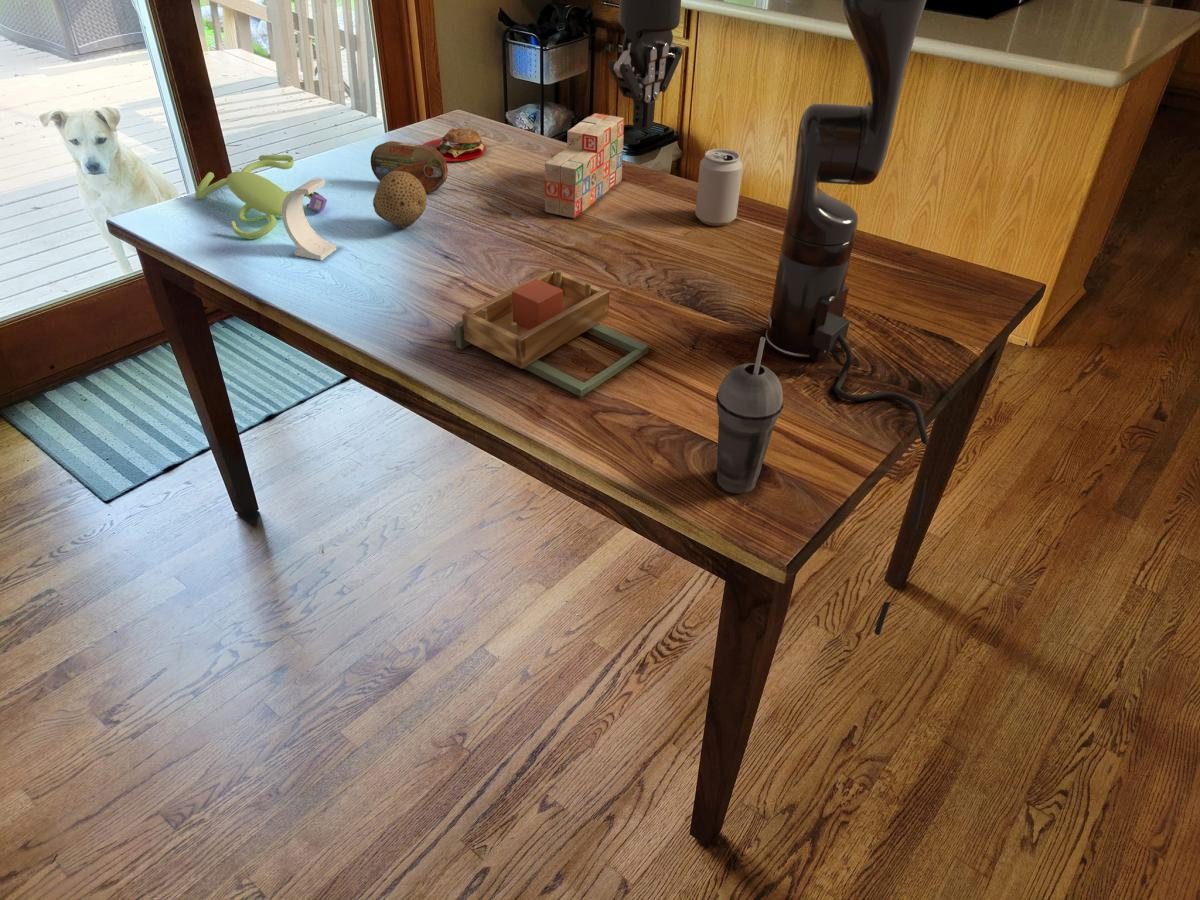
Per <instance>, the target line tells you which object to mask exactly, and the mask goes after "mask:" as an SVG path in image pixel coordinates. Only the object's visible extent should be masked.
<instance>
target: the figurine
mask: <svg viewBox="0 0 1200 900" xmlns="http://www.w3.org/2000/svg"><path fill="white" fill-rule="evenodd" d="M294 161H295V160H294V158H293V156H291V155H289V154H261V155H259V157H258V161H254V162H251V163H249V164H247V165H246V166H244V167H243V168H242V169H241V170H240V171H232V172H231V173H229V174H228V175H227V176H226V177H224V178H222V179H220V180H217V181H216V182H214V183H211V182H212V181H213V179H215V174H214V172H211V171H209V172H208V173H206V175H205V176H204V178H203V179H201V181H200V183H199V184H198V186H197V188H196V191H195V196H194V197H195V198H196V200H197V199H198V200H201V199H205V198H207V196H208V195H210V194H212V193H214V192H215V191H217V190H219V189H221V188H223V187H225V186H228V188H229V190H230V192H232V193H233V194H234V195H235V197H236V198H237V199H239V200H240V201H242V203H244V205H243V206H242V207H241V208H240V209H239V212H238V214H237V217H238V220H239V221H241V222H243V223H249V222H255V221H258V220H263V219H266V220H267V221H268V222H267V223H266V224H265V225H264V226H263V227H262V228H260V229H257V230H253V231H249V232H247V231H243V230H242V229H239V227H237V224H236V222H235V220H232V221H231V224H230V225H231V228H232V231H233V233H234V234H236V235H237V236H239V238H240V237H241V238H242V239H246V240H252V239H253V240H254V239H258V238H262V237H264V236H266V235H268V234H269V233H270V232H271V231H272V230H273V229H274V228H275V227H276V225H277V223H278V222H277V221H278V219H277V218H276V217H282V204H283V201H284V199H285V197H286V196H287V195H288V194H289V193H290V192H292V191H293V190H289V191H288V190H287V191H284V190H283V189H282V188H281V187H280V186H278V185H277V184H275V183H274V182H273V181H271V180H269V178H266V177H264V176H261V175H259V174H256V173H253V172H252V171H254V170H257V169H261V168H264V167H265V168H266V167H271V168H276V169H280V170H290V169H292V168H293V166H294V163H295V162H294ZM210 183H211V184H210ZM304 197H307V198H308V199H309V200H310V201H309V203H307V204H306V207H307V208H309V209H311V210H314V211H315V212H318V213H321V212H323V211H324V210H325V208H326V204H327V202H328V199H327V198H326V197H324V196H323V195H322V194H319V193H318V192H316V191H313V192H312V193H310V194H305V195H304ZM252 209H253V210H256V211H258V212H259V213H262V214H263V215H261V216H257V217H252V218H247V217H246V215H247V213H248V212H250V211H251V210H252Z"/></svg>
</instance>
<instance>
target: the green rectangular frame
mask: <svg viewBox="0 0 1200 900" xmlns="http://www.w3.org/2000/svg"><path fill="white" fill-rule="evenodd" d="M454 333H455V335H454V336H455V344H456V345H455V346H456V348H457V349H460V350H463V349H464V348H467V347H468V346H471V345H473V344H472V343H470V342H468V341H466V340H464V328H463V320H460V321H459V322H457V323H455V324H454ZM584 333H588V334H589V335H591V336H594V337H596V338H598V339H600V340H602V341H604V342H607V343H609V344H611V345H613V346H615V347H618V348H619V349H622V350H624V351H626V352H628V353H627V354H626V355H625V356H623V357H621V358H620V359H618V360H617V361H615V362H614V363H612V364H611V365H609V366H608V367H606V368H605V369H603V370H602V371H600V372H598V373H597V374H595V375H593V376H591V378H589V379H587V380H586V381H584V382H583V381H581V380H580V379H577V378H576V377H573V376H571V375H570V374H567V373H566V372H563V371H561V370H559V369H557V368H555V367H553V366H551V365H549V364H547V363H545V362H543V361H541V360H539V359H537V360H536V361H534V362H532V363H531V364H529V365H527V366H526V367H524V368H523V370H526V371H528V372H530V373H532V374H534V375H536V376H538V377H540V378H542V379H544V380H546V381H548V382H550V383H552V384H554V385H556V386H558V387H560V388H562V389H564V390H566V391H567V392H569V393H571V394H573V395H575V396H577V397H580V398H582V397H584V396H585V395H587V394H588V393H589V392H591V391H592V390H594V389H596V388H597V387H598V386H600V385H602V384H603V383H605V382H606V381H608V380H609V379H610V378H612V377H614V376H615V375H617V374H618V373H620V372H621V371H623V370H624V369H626V368H627V367H629V366H630V365H632V364H633V363H635V362H637V361H638V360H639V359H641V358H642V357H644V356H645V355H648V353H649V345H648V344H645V343H643V342H641V341H638V340H636V339H634V338H632V337H629V336H627V335H626V334H623V333H621V332H618V331H616V330H614V329H611V328H610V327H608V326H605V325H603V324H601V323H598V324H597V325H595V326H593V327H592V328H590V329H588V330H586V331H585V332H584Z"/></svg>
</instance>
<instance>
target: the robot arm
mask: <svg viewBox="0 0 1200 900" xmlns="http://www.w3.org/2000/svg"><path fill="white" fill-rule="evenodd" d="M926 3H927V0H840V4H841V8H842V12H843V15H844V18H845V20H846V23H847V26H848V29H849V31H850V33H851V36H852V38H853V40H854V42H855V45H856V48H857V49H858V52H859V54H860V57H861V59H862V62H863V63H862V64H863V66H864V69H865V73H866V76H867V81H868V85H869V97H868V101H867V103H866V105H852V104H835V103H812V104H810V105H809V106H807V107H806V108H805V110H804V112H803V114H802V115H801V118H800V122H799V126H798V130H797V136H796V144H795V152H794V154H795V155H794V164H793V173H792V179H791V180H792V181H791V187H790V194H789V200H788V206H787V211H786V217H785V223H784V228H783V233H782V240H781V245H780V252H779V257H778V263H777V269H776V275H775V282H774V288H773V293H772V299H771V305H770V310H769V311H768V313H767V320H768V322H767V327H766V332H765V337H764V338H765V343H766V345H767V346H768V347H769V349H771V350H772V351H774V352H776V353H777V354H780V355H782V356H784V357H787V358H792V359H797V360H810V361H812V362H818V361H820V360H821V359H822V358H823V357H824V356H825V355H827V354H828V353H829V352H830V351H831V350H832V349H834V348H835V347H836V346H837V345H838V344H839V345H840V346H841V348H842V349H843V351H844V353H845V363H844V364H843V366H842V367H841V371H840V375H839V377H838V379H837V381H836V382H835V384H834V386H833V391H834V393H835V394H836V395H837V396H838V397H840V398H841V399H844V400H847V401H850V402H851V401H852V402H862V401H870V400H875V399H881V398H889V399H895V400H897V401H900V402H902V403H904V404H905V405H907V406H909V407H910V408H911V409H912V411H913V412H914V416H915V418H916V423H917V428H918V433H919V437H920V441H921V443H922V445H926V446H927V445H929V444H930V443H929V438H928V433H927V429H926V425H925V419H924V416H923V415H924V414H923V411H922V409H921V406H919V404H918V403H917V402H916V401H914V400H913V399H911V398H909V397H908V396H907V395H904V394H903V393H899V392H896V391H889V390H883V391H875V392H870V393H864V394H851V393H848V392H846V391H844V390H843V389H841V388H842V386H843V385H844V382H845V380H846V378H847V374H848V372H849V370H850V368H851V366H852V363H853V352H852V349H851V346H850V345H849V343H848V342H847V340H846V338H847V335H848V331H849V326H850V323H851V320H849V319H847V318H844V317H843V316H844V312H845V308H846V304H847V300H848V294H849V290H850V288H849V286H848V285H846V284H845V282H846V279H847V273H848V270H849V265H850V261H851V255H852V252H853V247H854V243H855V239H856V233H857V230H858V225H859V216H858V214H857V212H856V211H855V209H854V208H853V207H852V206H850V205H849V204H847V203H846V202H844V201H842V200H839V199H837V198H835V197H833V196H831V195H829V194H827V193H826V192H824V191H823V190H822V189H821V188H820V187H819V186H818V185H819V184H820V183H823V184H833V185H834V184H835V185H837V184H838V185H849V186H850V185H851V186H865V185H870V184H872V183H874V182H875V181H876V180H877V178H878V177H879V175H880V173H881V171H882V170H883V166H884V163H885V160H886V157H887V155H888V150H889V146H890V142H891V138H892V133H893V129H894V124H895V119H896V114H897V109H898V104H899V100H900V96H901V92H902V91H901V90H902V87H903V83H904V79H905V74H906V70H907V66H908V62H909V59H910V55H911V52H912V50H913V49H912V48H913V46H914V45H913V44H914V42H915V38H916V36H917V35H916V34H917V32H918V29H919V25H920V22H921V19H922V17H923V12H924V9H925V6H926ZM618 6H619V8H618V22H619V25H620V26H621V27H622V28H623V30H624V32H625V33H624V38H623V41H622V44H621V50H622V53H621V55H620V56H619V57H618V60H614V59H612V60H610V61H609V64H608V69H609V72H610V74H611V75H612V77H613V79H614V81H615V83H616V85H617V87H618V88H619V91H620V94H621V95H622V97H624V98H626V99H627V98H628V99H631V100H632V102H633V106H632V107H633V108H632V125H633V129H635V130H638V131H641V132H647V131H649V130H651V129H653V127H654V121H655V110H656V109H655V108H656V101H657V100H658V99H659V97H660V93H665V92H666V91H667V90H668V88H669V85H670V83H671V80H672V79H673V76H674V75H675V72H676V69H677V67H678V65H679V63H680V60H681V58H682V56H683V53H684V49H683V47H682V46H681V47H680V46H677V45H676V44H674V42H673V41H674V34H673V30H675V29H677V28H678V27H679V25H680V21H681V8H682V0H619V5H618ZM927 481H928V478H926V479H925V480H924V482H923V483H922V484H921V485H920V486H919V488H918V489H917V494H916V495H917V496H916V499H915V507H914V511H913V515H912V519H911V522H912V524H913V526H914V528H915V531H917V530H918V527H919V522H920V519H921V514H922V509H923V506H924V499H925V494H926V487H927ZM890 606H891V601H884V602H883V605H882V608H881V610H880V613H879V616H878V619H877V622H876V625H875V628H874V634H875V635H876V636H880V635H881V633H882V630H883V626H884V623H885V620H886V617H887V614H888V612H889V608H890Z"/></svg>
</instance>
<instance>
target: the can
mask: <svg viewBox="0 0 1200 900" xmlns="http://www.w3.org/2000/svg"><path fill="white" fill-rule="evenodd" d="M743 169H744V164H743V162H742V161H741V155H740V153H738V152H736V151H735V150H731V149H726V148H713V149H709V150H707V151H705V153H704V157H703V158H702V159H701V160H700V162H699V171H698V182H697V191H696V200H695V211H694V213H695V216H696V217H697V218H698V220H699V221H700V222H701V223H703V224H705V225H708V226H714V227H716V226H717V227H721V226H722V227H723V226H726V225H729V224H730V223H732V222H733V221H734V220H735V219H736V218H737V215H738V207H739V199H740V191H741V185H742V183H741V182H742V177H743Z"/></svg>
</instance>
